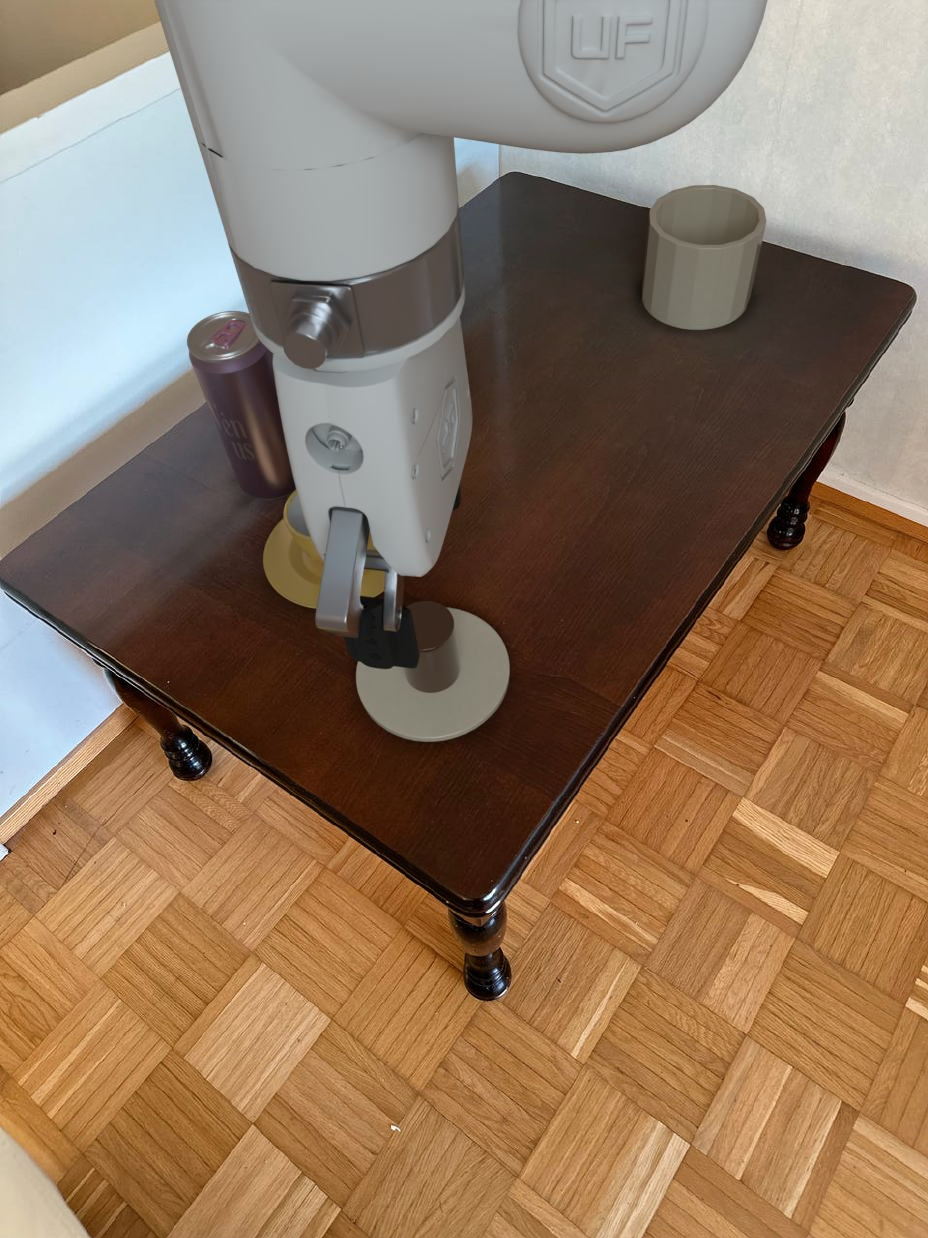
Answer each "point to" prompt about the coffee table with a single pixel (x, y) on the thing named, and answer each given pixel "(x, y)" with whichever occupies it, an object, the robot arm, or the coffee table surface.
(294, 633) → the coffee table surface
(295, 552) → the cup
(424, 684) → the lid
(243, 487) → the beverage can
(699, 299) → the pot
